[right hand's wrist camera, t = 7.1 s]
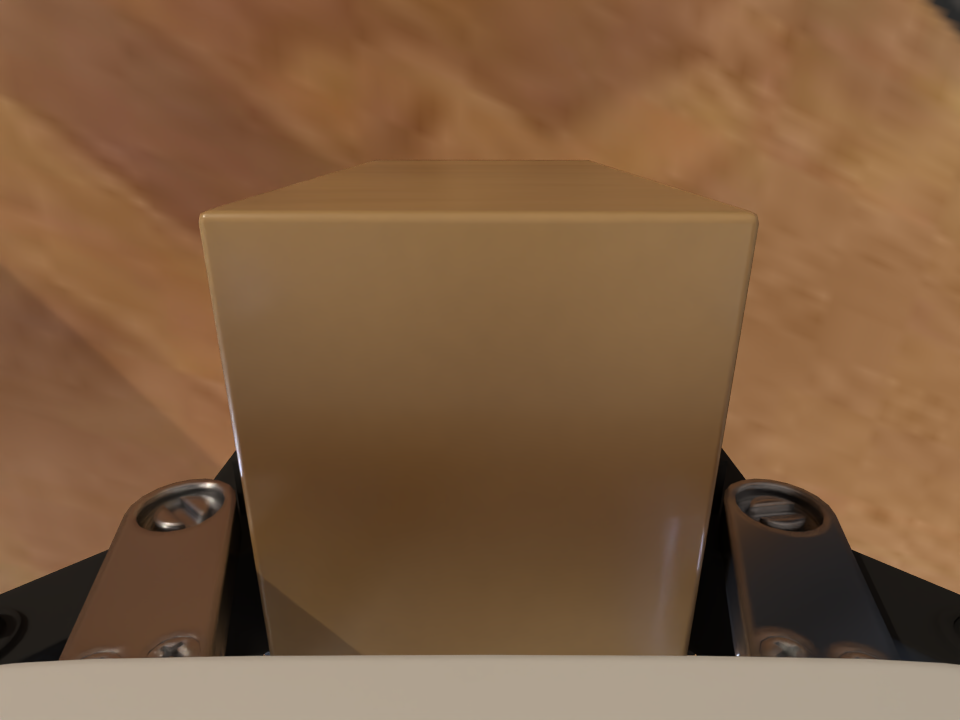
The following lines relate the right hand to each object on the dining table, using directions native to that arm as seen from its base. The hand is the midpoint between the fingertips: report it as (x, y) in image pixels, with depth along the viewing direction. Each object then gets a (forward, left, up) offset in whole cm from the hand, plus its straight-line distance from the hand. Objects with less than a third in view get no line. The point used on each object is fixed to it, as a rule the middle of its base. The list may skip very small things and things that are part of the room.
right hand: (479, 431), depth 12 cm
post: (-17, -19, -3) cm, 26 cm away
